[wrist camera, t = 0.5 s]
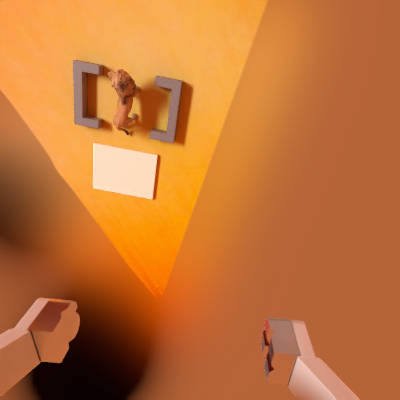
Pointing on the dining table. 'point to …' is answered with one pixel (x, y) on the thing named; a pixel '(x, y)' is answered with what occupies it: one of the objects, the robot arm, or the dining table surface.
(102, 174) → the ceramic tile
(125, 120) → the lion figurine
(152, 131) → the grey bracket pair
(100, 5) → the dining table surface
